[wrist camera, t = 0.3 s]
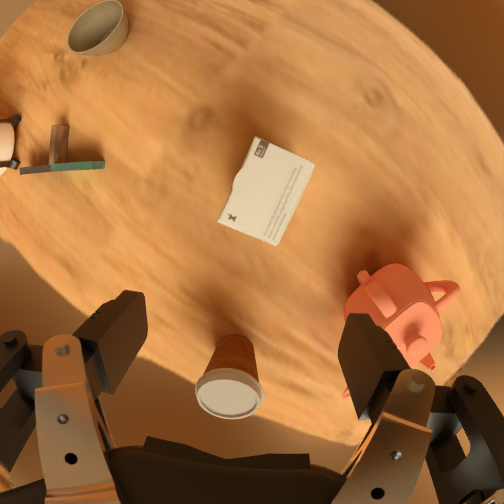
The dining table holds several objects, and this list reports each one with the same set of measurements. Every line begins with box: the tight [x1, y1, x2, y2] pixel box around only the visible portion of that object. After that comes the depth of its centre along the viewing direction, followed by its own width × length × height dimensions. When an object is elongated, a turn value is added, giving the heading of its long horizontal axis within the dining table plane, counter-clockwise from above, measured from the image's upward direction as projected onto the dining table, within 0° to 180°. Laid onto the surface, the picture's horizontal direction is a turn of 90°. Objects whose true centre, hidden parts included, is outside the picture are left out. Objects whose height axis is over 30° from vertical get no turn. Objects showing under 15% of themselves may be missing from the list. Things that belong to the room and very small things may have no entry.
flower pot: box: [67, 0, 128, 56], centre depth 26 cm, size 10×10×7 cm
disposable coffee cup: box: [195, 335, 264, 419], centre depth 39 cm, size 10×10×12 cm
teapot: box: [342, 263, 460, 398], centre depth 35 cm, size 16×17×14 cm
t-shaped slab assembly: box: [20, 125, 105, 175], centre depth 33 cm, size 8×18×4 cm, turn 85°
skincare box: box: [217, 136, 315, 246], centre depth 29 cm, size 8×6×15 cm
